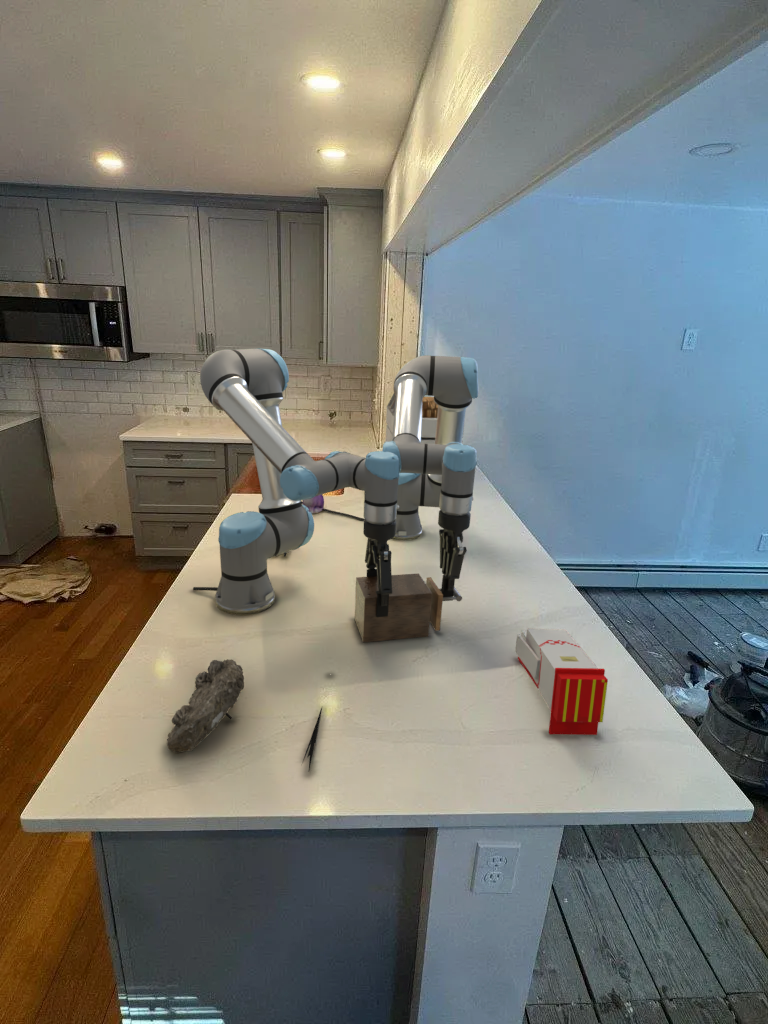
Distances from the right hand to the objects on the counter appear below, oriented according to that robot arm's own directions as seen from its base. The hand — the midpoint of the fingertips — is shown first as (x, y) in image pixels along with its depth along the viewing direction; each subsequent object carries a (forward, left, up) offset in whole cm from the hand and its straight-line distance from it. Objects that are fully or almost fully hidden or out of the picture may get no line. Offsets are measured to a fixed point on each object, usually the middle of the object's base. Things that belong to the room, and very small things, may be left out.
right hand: (446, 599), depth 142 cm
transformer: (-104, +92, -7) cm, 139 cm away
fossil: (-3, -61, -7) cm, 62 cm away
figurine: (-88, +19, -7) cm, 91 cm away
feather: (+10, -45, -7) cm, 47 cm away
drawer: (-4, -7, -6) cm, 9 cm away
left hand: (-8, -16, 0) cm, 18 cm away
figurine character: (-62, -10, -7) cm, 64 cm away
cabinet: (-7, -12, -7) cm, 16 cm away
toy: (+33, -2, -7) cm, 33 cm away
